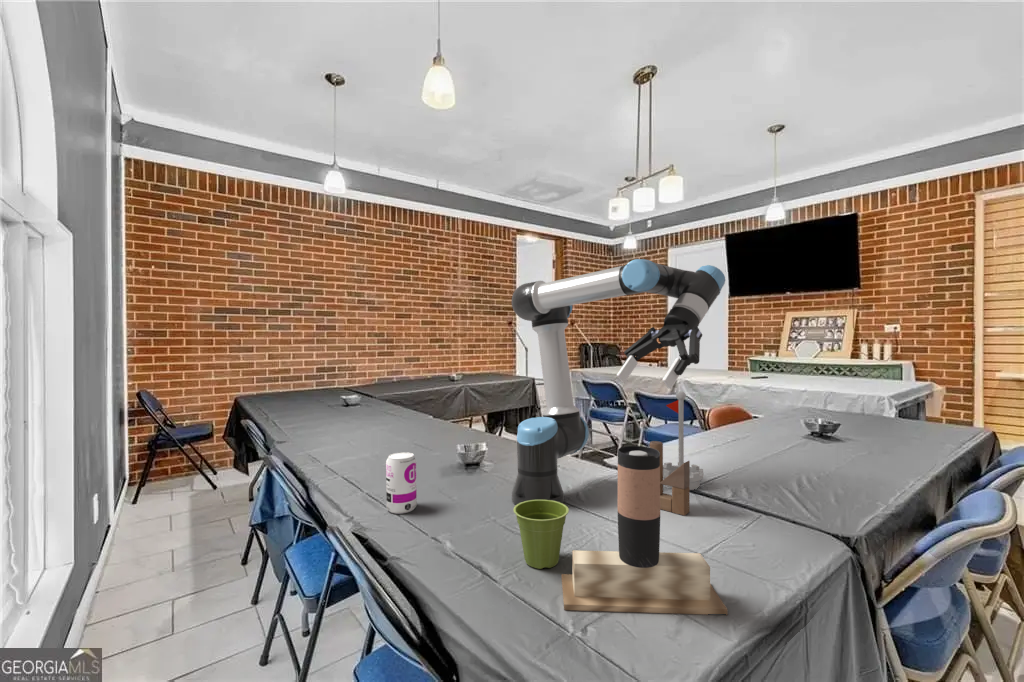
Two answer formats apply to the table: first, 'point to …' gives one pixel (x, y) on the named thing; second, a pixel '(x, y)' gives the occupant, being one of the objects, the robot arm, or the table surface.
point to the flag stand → (682, 446)
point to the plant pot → (541, 531)
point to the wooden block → (674, 486)
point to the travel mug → (639, 505)
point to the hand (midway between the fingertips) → (642, 381)
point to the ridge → (640, 585)
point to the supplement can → (401, 482)
